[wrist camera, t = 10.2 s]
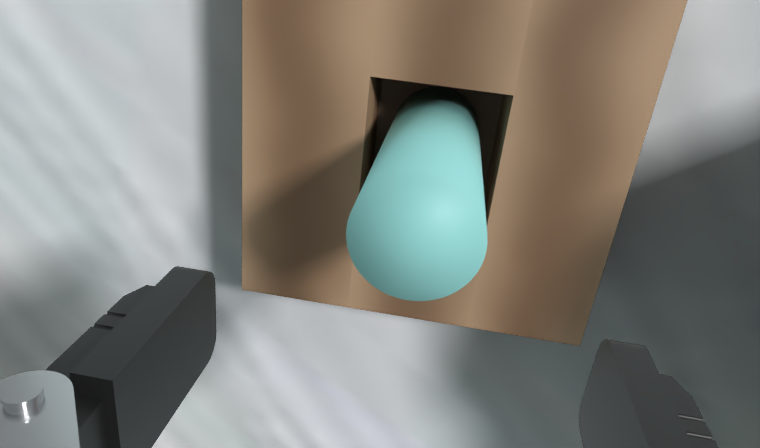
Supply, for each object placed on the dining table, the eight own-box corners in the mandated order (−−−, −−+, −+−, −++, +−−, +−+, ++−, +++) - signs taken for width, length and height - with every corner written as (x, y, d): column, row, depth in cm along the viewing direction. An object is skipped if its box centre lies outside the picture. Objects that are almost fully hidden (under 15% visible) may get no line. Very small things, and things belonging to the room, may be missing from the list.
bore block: (655, -37, 24) (699, -38, 19) (563, 289, 31) (580, 345, 26) (282, -79, 25) (242, -88, 21) (273, 243, 32) (242, 289, 27)
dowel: (485, 93, 26) (500, 185, 15) (470, 175, 28) (473, 311, 17) (398, 81, 26) (352, 163, 15) (389, 163, 28) (341, 289, 17)
